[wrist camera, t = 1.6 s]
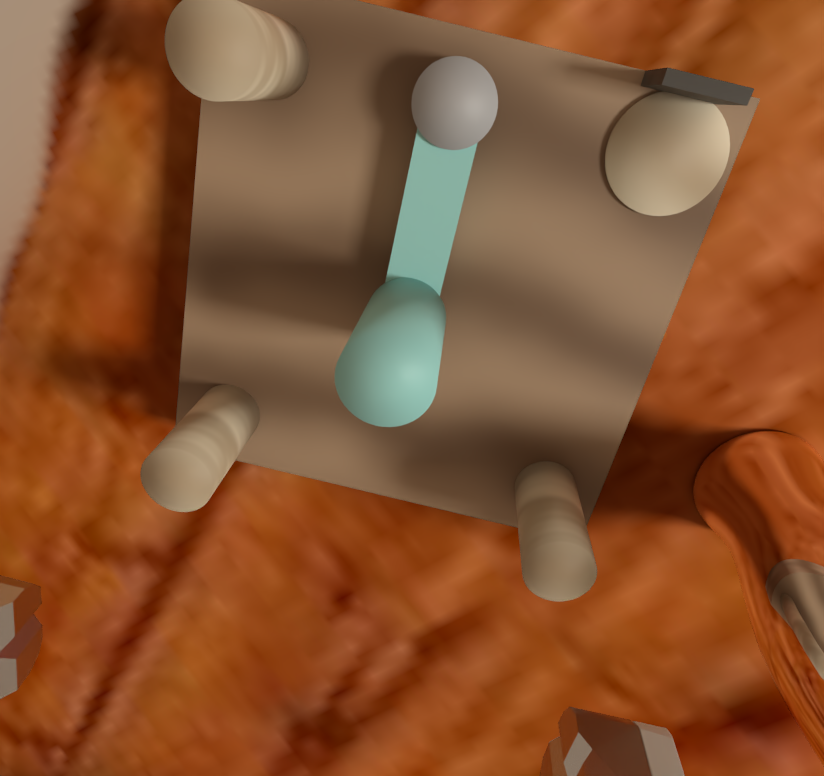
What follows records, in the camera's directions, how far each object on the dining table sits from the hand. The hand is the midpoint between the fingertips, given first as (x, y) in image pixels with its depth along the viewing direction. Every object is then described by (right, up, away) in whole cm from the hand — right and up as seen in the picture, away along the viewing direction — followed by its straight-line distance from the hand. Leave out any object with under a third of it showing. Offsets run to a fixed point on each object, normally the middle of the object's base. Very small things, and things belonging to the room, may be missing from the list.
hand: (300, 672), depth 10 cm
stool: (+2, +9, +20) cm, 22 cm away
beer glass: (+19, 0, +23) cm, 29 cm away
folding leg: (+2, +11, +16) cm, 19 cm away
